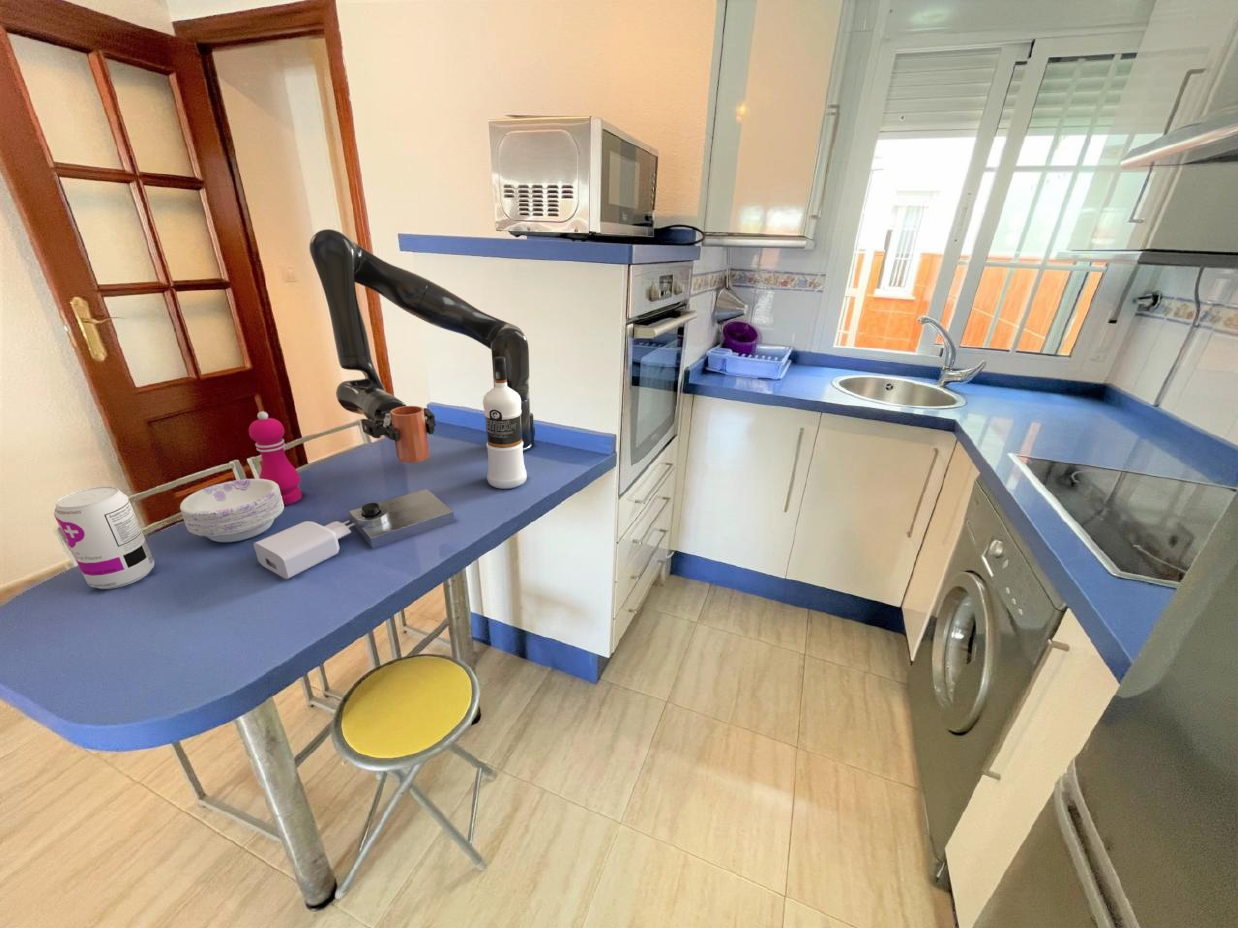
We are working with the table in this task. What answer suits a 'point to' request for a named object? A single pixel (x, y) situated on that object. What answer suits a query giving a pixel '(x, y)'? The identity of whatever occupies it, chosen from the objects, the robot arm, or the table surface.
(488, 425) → the vodka
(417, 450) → the cup
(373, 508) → the button
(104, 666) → the table surface
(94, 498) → the supplement can
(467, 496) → the table surface
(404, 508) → the scale
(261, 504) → the paper bowls
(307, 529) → the charger
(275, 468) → the pepper mill
